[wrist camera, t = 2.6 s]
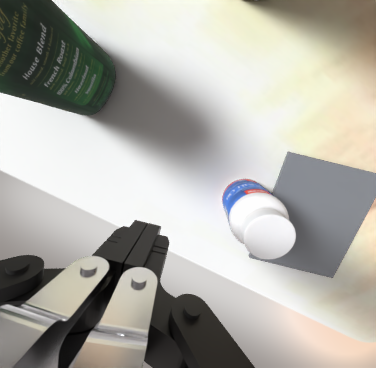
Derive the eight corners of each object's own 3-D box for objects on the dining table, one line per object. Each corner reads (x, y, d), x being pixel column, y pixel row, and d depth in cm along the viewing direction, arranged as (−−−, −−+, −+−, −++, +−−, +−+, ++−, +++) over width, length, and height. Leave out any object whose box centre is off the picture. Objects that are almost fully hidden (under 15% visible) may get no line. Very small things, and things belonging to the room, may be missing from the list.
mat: (287, 151, 22) (289, 152, 21) (383, 175, 22) (387, 176, 21) (248, 255, 25) (249, 257, 25) (330, 275, 25) (332, 278, 25)
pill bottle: (253, 170, 22) (294, 193, 13) (269, 206, 23) (317, 252, 14) (214, 189, 23) (224, 223, 14) (231, 223, 24) (251, 276, 15)
